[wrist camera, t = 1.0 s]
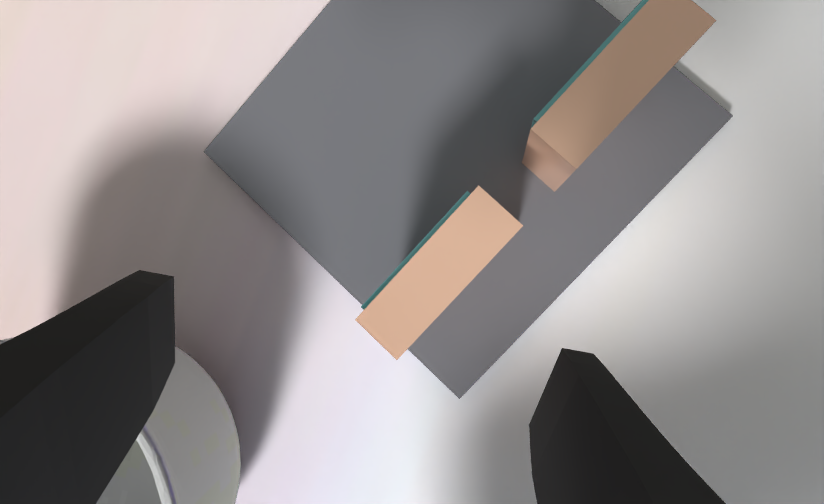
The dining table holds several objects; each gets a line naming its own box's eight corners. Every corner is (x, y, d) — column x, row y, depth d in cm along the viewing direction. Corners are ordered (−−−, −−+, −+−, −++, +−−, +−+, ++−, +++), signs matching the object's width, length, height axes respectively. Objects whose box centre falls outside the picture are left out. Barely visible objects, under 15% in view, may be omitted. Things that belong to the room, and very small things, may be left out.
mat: (728, 118, 20) (733, 115, 20) (460, 396, 22) (459, 398, 21) (441, -122, 22) (439, -129, 21) (208, 153, 23) (203, 151, 23)
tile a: (516, 232, 21) (523, 225, 15) (424, 329, 22) (397, 360, 16) (481, 200, 21) (474, 181, 15) (391, 297, 22) (351, 315, 16)
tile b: (652, 87, 20) (716, 20, 14) (554, 191, 21) (576, 169, 15) (615, 55, 20) (662, -24, 15) (518, 159, 21) (525, 124, 15)
